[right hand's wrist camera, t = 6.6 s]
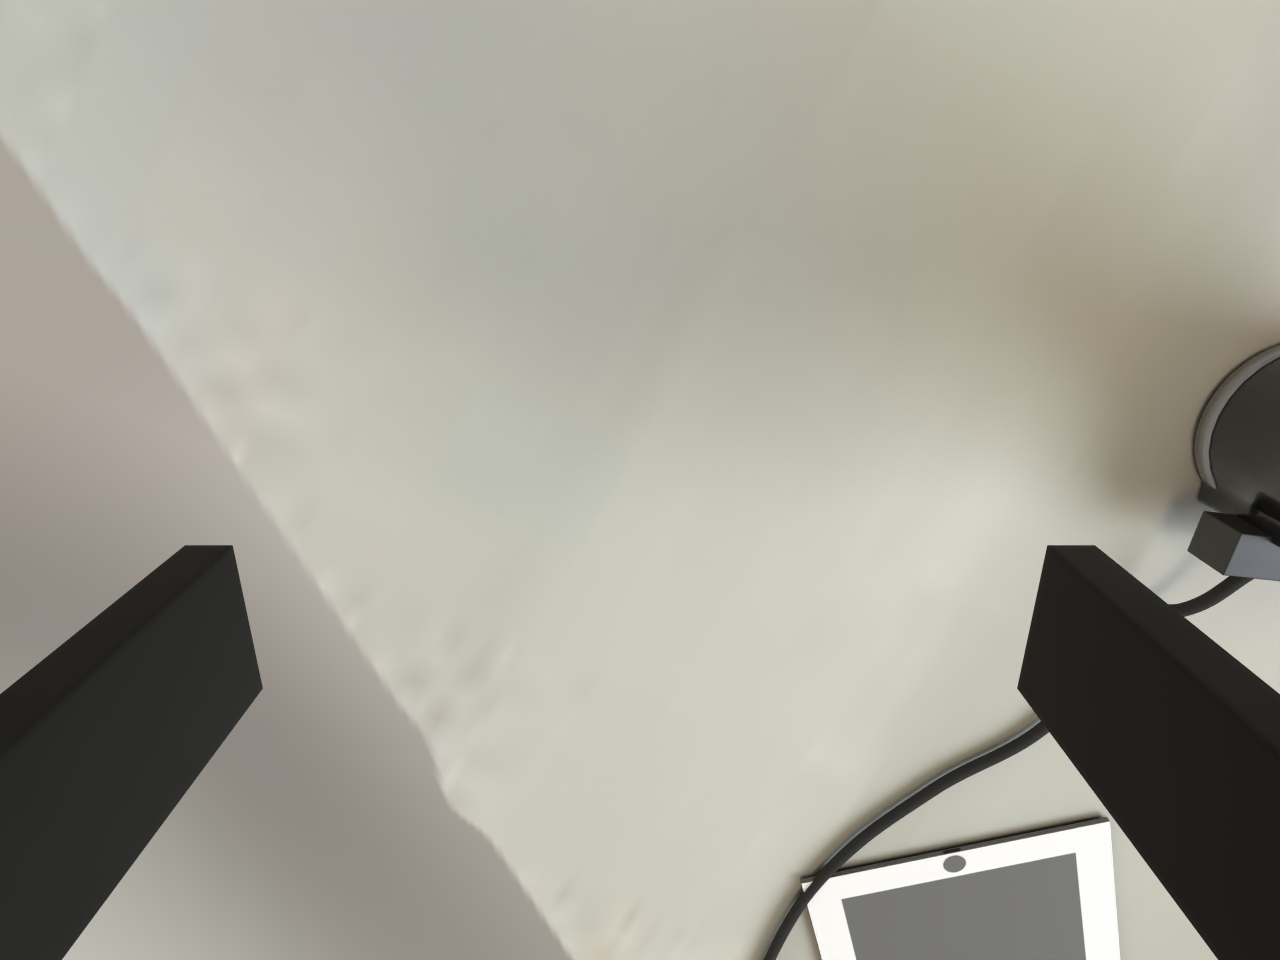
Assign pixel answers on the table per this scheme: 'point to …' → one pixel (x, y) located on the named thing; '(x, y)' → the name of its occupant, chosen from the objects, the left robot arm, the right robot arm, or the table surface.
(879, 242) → the table surface
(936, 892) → the tablet
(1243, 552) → the left robot arm
